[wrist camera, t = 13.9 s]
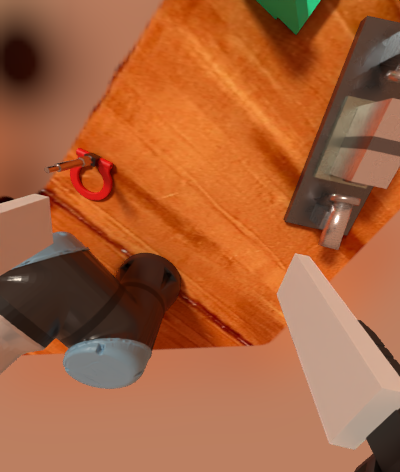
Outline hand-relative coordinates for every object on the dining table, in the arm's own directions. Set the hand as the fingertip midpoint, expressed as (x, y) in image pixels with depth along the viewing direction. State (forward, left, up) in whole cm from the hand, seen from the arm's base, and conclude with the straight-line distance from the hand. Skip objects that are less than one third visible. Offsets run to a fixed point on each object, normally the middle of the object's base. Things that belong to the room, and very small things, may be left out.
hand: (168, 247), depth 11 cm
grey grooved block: (+9, -23, -29) cm, 38 cm away
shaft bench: (+9, -23, -32) cm, 40 cm away
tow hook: (-6, +22, -32) cm, 39 cm away
